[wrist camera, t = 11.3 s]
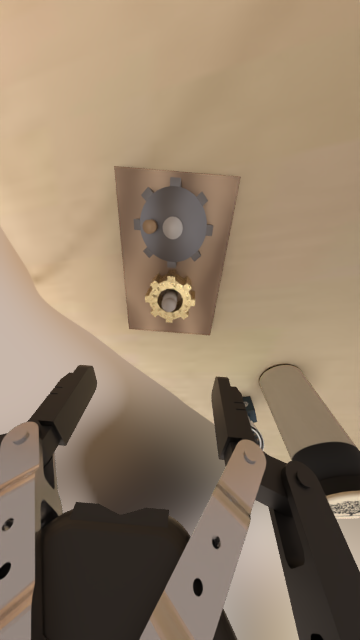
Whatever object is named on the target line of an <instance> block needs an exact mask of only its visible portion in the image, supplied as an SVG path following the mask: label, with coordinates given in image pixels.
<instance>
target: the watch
mask: <svg viewBox="0 0 360 640" xmlns="http://www.w3.org/2000/svg"><path fill="white" fill-rule="evenodd" d="M243 401H244V405H245V408H246V411H247V415H248V418H249V421H250V425H251V428H252V432H253V435H254V438H255V441H256V443H257V444H258V446H259V447H260V448H261V449H262V450H263V449H264V441H263V437H262V435H261V434H260V432H259V431H258V429H257V428H256V426H255V425H254V422H257V419H256V414H255V409H254V406H253V403H252V400H251V397H250V396H249V397H243Z"/></svg>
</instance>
